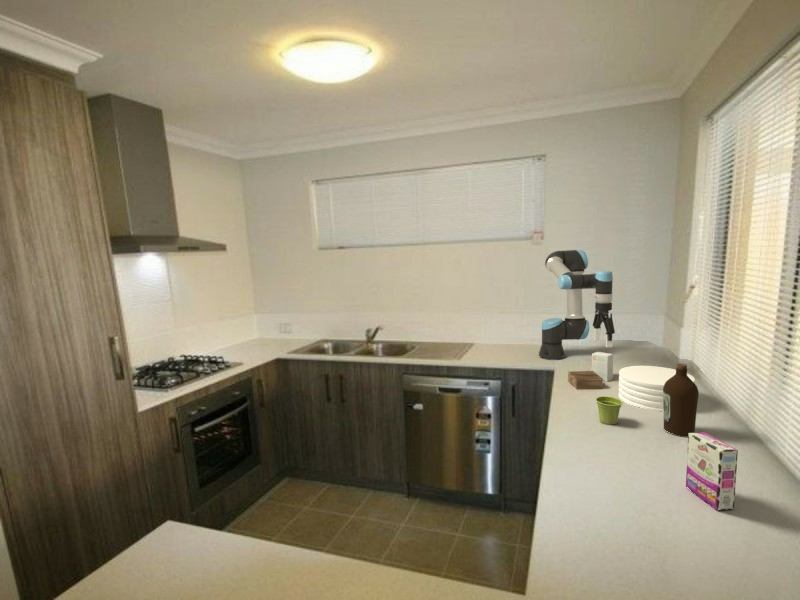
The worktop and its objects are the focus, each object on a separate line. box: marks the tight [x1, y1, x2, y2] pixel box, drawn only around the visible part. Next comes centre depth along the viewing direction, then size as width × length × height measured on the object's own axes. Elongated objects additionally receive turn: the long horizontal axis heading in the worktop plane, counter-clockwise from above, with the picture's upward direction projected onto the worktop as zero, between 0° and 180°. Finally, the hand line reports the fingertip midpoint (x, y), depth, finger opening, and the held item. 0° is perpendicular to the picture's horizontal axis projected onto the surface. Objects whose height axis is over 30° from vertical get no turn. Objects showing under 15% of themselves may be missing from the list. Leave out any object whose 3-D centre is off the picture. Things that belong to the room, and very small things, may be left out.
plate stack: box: [618, 365, 696, 412], centre depth 182 cm, size 28×28×12 cm
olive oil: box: [663, 363, 700, 437], centre depth 151 cm, size 11×11×25 cm
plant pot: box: [595, 395, 624, 425], centre depth 162 cm, size 9×9×9 cm
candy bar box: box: [685, 431, 739, 511], centre depth 112 cm, size 11×5×16 cm, turn 5°
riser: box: [567, 370, 604, 390], centre depth 204 cm, size 12×12×5 cm
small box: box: [591, 351, 614, 382], centre depth 212 cm, size 8×6×13 cm
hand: (602, 344), depth 210 cm, fingers open, 13 cm apart
